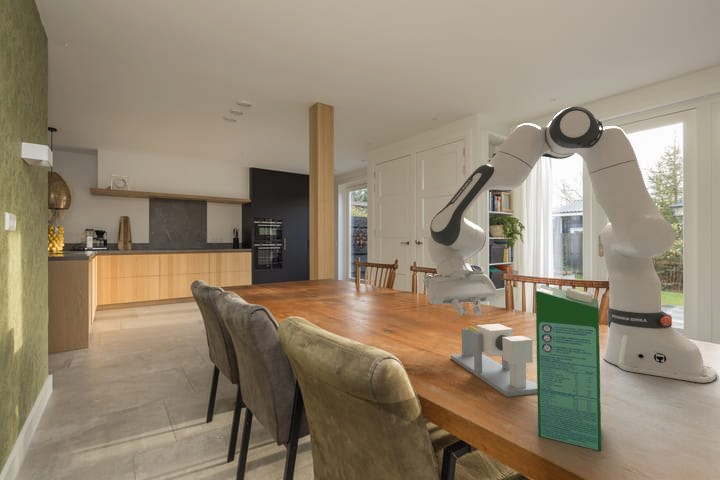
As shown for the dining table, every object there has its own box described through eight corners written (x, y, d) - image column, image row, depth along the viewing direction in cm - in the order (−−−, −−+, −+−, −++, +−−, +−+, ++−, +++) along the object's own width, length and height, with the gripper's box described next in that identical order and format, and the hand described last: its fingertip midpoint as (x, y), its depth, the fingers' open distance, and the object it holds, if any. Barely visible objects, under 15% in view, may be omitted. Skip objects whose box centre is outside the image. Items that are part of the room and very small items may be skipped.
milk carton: (601, 451, 58) (598, 293, 58) (537, 436, 62) (535, 289, 62) (599, 426, 65) (597, 286, 65) (543, 414, 70) (541, 284, 70)
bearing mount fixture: (451, 358, 103) (450, 317, 103) (479, 355, 105) (479, 315, 105) (506, 396, 78) (505, 343, 78) (543, 392, 80) (542, 339, 80)
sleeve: (477, 348, 92) (477, 325, 92) (498, 347, 94) (498, 323, 94) (490, 356, 86) (490, 330, 86) (513, 354, 88) (512, 329, 88)
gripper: (424, 269, 105) (439, 309, 96) (488, 267, 110) (508, 305, 100) (418, 282, 110) (432, 322, 100) (480, 280, 114) (499, 318, 105)
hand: (471, 313), depth 100 cm, fingers open, 3 cm apart
